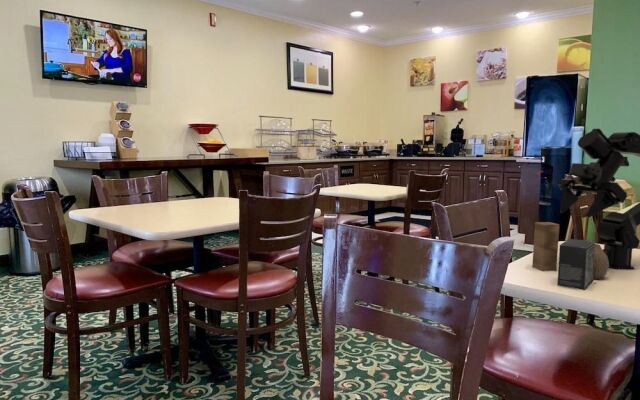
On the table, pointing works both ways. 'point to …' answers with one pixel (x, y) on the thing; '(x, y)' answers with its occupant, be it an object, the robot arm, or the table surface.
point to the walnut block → (545, 246)
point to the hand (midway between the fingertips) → (574, 214)
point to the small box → (576, 263)
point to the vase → (600, 263)
